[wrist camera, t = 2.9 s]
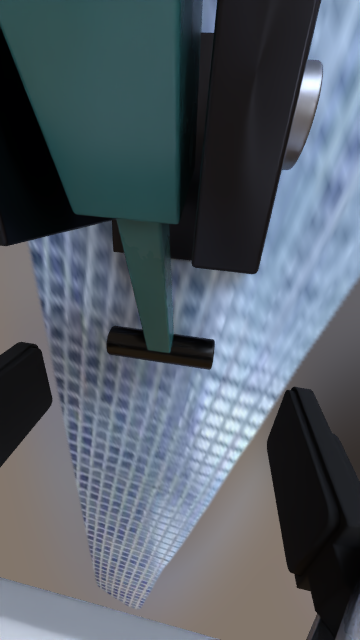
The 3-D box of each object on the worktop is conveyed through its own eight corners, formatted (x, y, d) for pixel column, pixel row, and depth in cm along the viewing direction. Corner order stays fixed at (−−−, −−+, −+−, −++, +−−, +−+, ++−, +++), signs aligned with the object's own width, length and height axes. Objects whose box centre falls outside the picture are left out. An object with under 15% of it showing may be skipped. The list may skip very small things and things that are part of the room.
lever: (213, 340, 13) (208, 384, 11) (121, 327, 13) (107, 368, 12) (298, -27, 4) (325, -20, 2) (-10, -27, 4) (-135, -22, 3)
